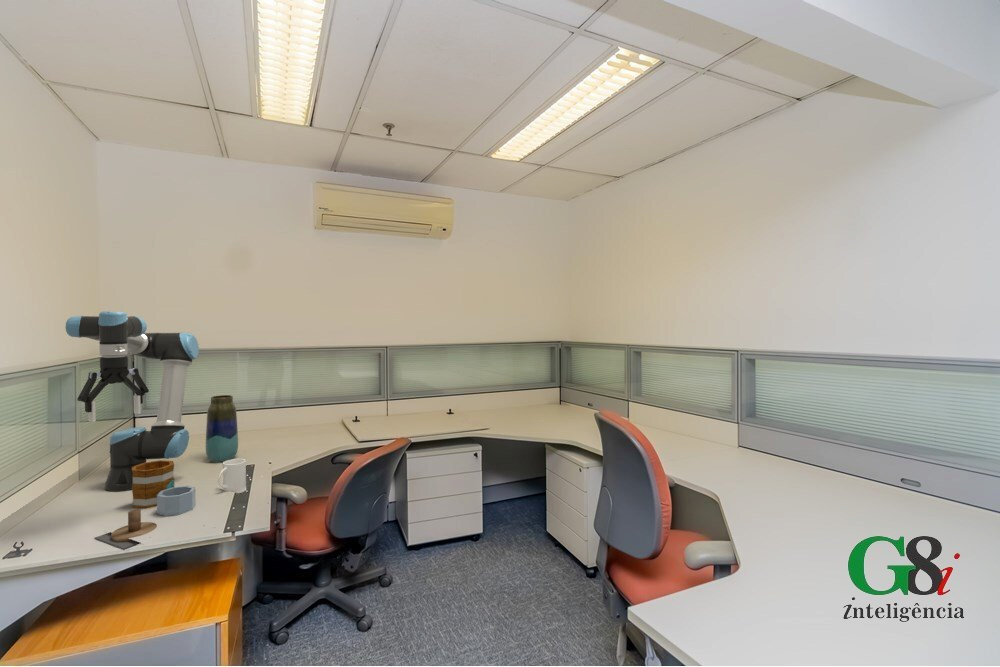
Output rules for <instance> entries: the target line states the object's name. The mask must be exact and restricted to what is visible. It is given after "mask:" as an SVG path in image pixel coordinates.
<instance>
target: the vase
mask: <svg viewBox="0 0 1000 667" xmlns="http://www.w3.org/2000/svg"><path fill="white" fill-rule="evenodd" d="M233 398H234V396H233V395H231V394H230V395H228V394H223V395H222V394H220V395H213V396H211V397H210V404H209V406H208V409H207V411H206V429H205V454H206V456H207V458H208V459H209V460H210V461H211V462H213V463H214V462H215V463H223V462H225V461H227V460H232V459H235V456H236V455H237V453H238V451H239V431H238V414H237V407H236V405H235V403H234V399H233Z"/></svg>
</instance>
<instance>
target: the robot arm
mask: <svg viewBox="0 0 1000 667" xmlns="http://www.w3.org/2000/svg"><path fill="white" fill-rule="evenodd" d="M147 325H148V324H147V322H146V321H145V319H143V318H142V317H140V316H139V317H138V316H134V315H131V316H128V314H127V313H126V312H125V311H118V310H117V311H114V310H113V311H111V310H109V311H100V312H99V314H98V315H97V316H95V315H91V316H88V315H87V316H86V315H84V316H83V315H78V316H77V315H75V316H70V317H69V318H67V320H66V322H65V327H64V328H65V332H66V334H67V335H68V336H69V337H72V338H79V339H81V338H87V339H91V340H94V341H98V342H99V347H98V348H99V356H101V357H100V358H99V369H100V371H99V372H93V371H89V373H88V376H87V380H86V382H85V383H84V386H83V387H82V389H81V391H80V394H79V395H78V396H77V399H76V400H77V401H78V402H82V403H84V412H86V413H87V415H88V416H87V418H88V419H87V420H88V422H90V423H95V422H96V415H97V414H96V402H95V401H94V400H95V399H96V398H97V396H98V395H99V394H101V392H102V391H103V390H104V389H105V387H107V386H108V385H109V384H110V385H112V384H121V383H123V384H124V385H126V387H127V388H129V390H131V391H132V392H133V393H134V394H133V398H132V399H133V414H136V415H139V414H140V415H141V414H142V412H141V406H142V404H143V402H144V400H143V399H144V396H145V395H146V394H148V393H149V392H150V390H149V388H148V386H147V385H146V383H145V382H144V380H143V379H142V377H141V375H140V372H139V371H140V370H139V368H135V367H131V368H130V369H129V368H128V367H129V357H128V356H126V355H128V354H130V355H134V356H137V357H141V358H146V359H151V360H159V363H160V364H161V365H162V367H163V370H162V376H161V382H160V390H159V391H160V393H159V399H158V400H159V401H158V407H157V415H156V416H157V417H156V421H155V422H154V423H153V424H151V427H150V430H147V429H146V427H145V426H136V427H131V428H125V429H123V430H122V429H121V430H118V431H116V432H113V433H112V434H111V436H110V437H109V438H110V439H109V462H110V464H109V465H110V467H109V468H110V470H109V472H108V474H107V478H106V479H105V480H106V481H105V483H104V489H105V491H109V492H125V491H132V482H133V474H132V467H133V466H136V465H139V464H142V463H146V462H147V460H167V459H168V460H169V459H176V458H179V457H181V456H182V455H183V454H184V453H185V451H186V450H187V448H188V445H189V441H190V432H189V431H188V429H185V425H184V423H182V416H183V407H184V399H185V398H184V397H185V391H186V390H185V389H186V382H187V381H186V380H187V372H188V368H189V367H190V366H191V365H192V363H193V360H196V359H198V358H199V352H200V347H199V343H198V340H197V337H196V336H195V335H194V334H192V333H189V332H147V329H148V326H147ZM128 375H131V377H132V379H133V380H134V382H135V383H136V384H135V383H133V381H131V379H130V378H129V377H128ZM99 377H100V378H101V379H100V380H99V381H98V382H97V379H99ZM96 382H97V384H96V386H95V387H94V385H95V383H96Z"/></svg>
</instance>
